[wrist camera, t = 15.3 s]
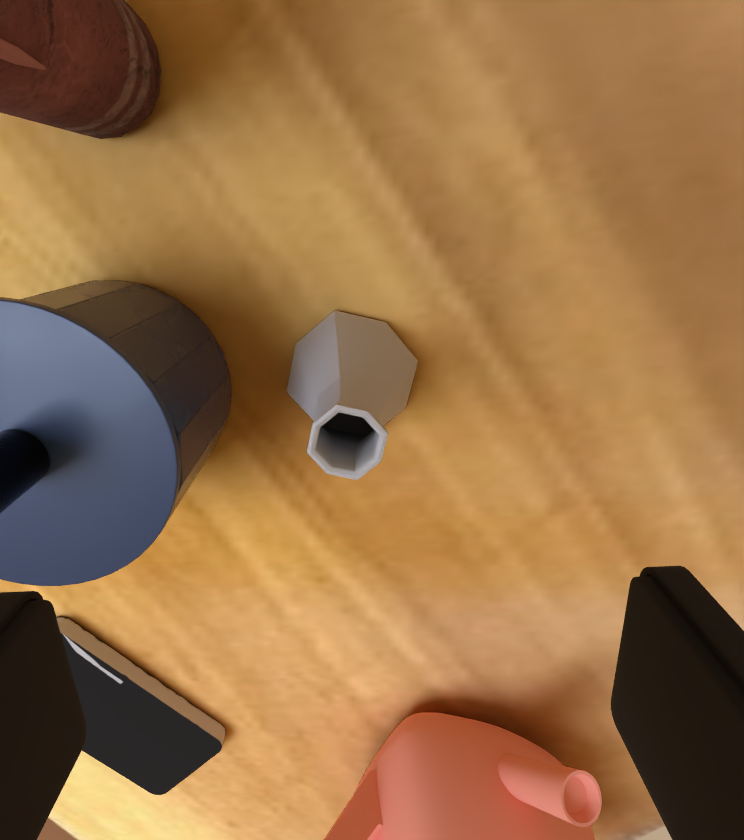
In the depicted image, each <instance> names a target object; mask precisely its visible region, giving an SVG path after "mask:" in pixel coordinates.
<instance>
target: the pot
mask: <svg viewBox="0 0 744 840" xmlns="http://www.w3.org/2000/svg"><path fill="white" fill-rule="evenodd" d="M20 300H25V301H29V302H33V303H37V304H41V305H45V306H48V307H51V308H53V309H56V310H59V311H61V312H64V313H66V314H69V315H71V316H73V317H75V318H77V319H79V320H81V321H83V322H84V323H86V324H88V325H90V326H92V327H93V328H95V329H96V330H98V331H99V332H101V333H102V334H104V335H105V336H107V337H108V338H110V339H111V340H112V341H113V342H114V343H116V344H117V345H118V346H119V347H120V348H121V349H123V350H124V351H125V352H126V353H127V354H128V355H129V356H130V357H131V358H132V359H133V360H134V361H135V362H136V363H137V364H138V365H139V366H140V368H141V369H142V370H143V371H144V372H145V374H146V375H147V376H148V378H149V379H150V380H151V382H152V383H153V384H154V386H155V387H156V389H157V391H158V392H159V394H160V396H161V398H162V399H163V401H164V403H165V405H166V407H167V409H168V412H169V414H170V416H171V419H172V421H173V424H174V427H175V431H176V435H177V438H178V442H179V449H180V457H181V480H180V485H179V491H178V496H177V499H176V502H175V505H174V508H173V511H172V513H173V512H174V510H175V509H176V507H177V506H178V504H179V502H180V501H181V499H182V498H183V496H184V494H185V493H186V491H187V490H188V488H189V487H190V485H191V483H192V482H193V480H194V479H195V477H196V476H197V474H198V472H199V471H200V469H201V468H202V466H203V464H204V463H205V461H206V460H207V458H208V457H209V455H210V453H211V452H212V450H213V449H214V447H215V445H216V443H217V441H218V439H219V436H220V434H221V432H222V430H223V428H224V426H225V424H226V421H227V418H228V416H229V412H230V404H231V381H230V375H229V371H228V366H227V363H226V360H225V358H224V355H223V352H222V350H221V348H220V346H219V345H218V343H217V341H216V339H215V338H214V336H213V335H212V333H211V332H210V330H209V329H208V328H207V326H206V325H205V324H204V323H203V322H202V321H201V320H200V318H199V317H198V316H196V315H195V314H194V313H193V312H192V311H191V310H190V309H189V308H188V307H186V306H185V305H183V304H182V303H181V302H179V301H178V300H176V299H175V298H173V297H171V296H169V295H167V294H166V293H164V292H162V291H159V290H157V289H154V288H152V287H149V286H146V285H142V284H138V283H134V282H127V281H97V280H95V281H89V282H85V283H81V284H78V285H74V286H70V287H66V288H62V289H58V290H55V291H51V292H47V293H43V294H39V295H35V296H31V297H28V298H24V299H20ZM172 513H171V515H172ZM171 515H170V517H171ZM170 517H169V518H170ZM168 520H169V519H168Z"/></svg>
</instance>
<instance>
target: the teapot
mask: <svg viewBox="0 0 744 840" xmlns="http://www.w3.org/2000/svg"><path fill="white" fill-rule="evenodd" d="M601 806H602V796H601V791H600V788H599V785H598V783H597V781H596V780H595V779H594V777H593V776H592V775H591V774H589V773H588V772H586V771H583V770H578V769H574V768H570V767H566V766H563V765H562V764H561V763H560V762H559V761H558V760H557V759H556V758H555V757H554V756H552V755H551V754H550V753H549V752H547V751H546V750H544V749H543V748H541V747H539V746H537V745H536V744H534V743H532V742H530V741H528V740H527V739H525V738H523V737H521V736H519V735H517V734H515V733H512V732H510V731H508V730H505V729H503V728H500V727H498V726H495V725H491V724H488V723H485V722H481V721H477V720H473V719H468V718H464V717H459V716H453V715H448V714H444V713H439V712H434V713H433V712H422V713H416V714H413V715H410V716H408V717H407V718H406V719H404V720H403V721H402V722H401V723H400V724H399V725H398V726H397V727H396V729H395V730H394V731H393V732H392V733H391V735H390V736H389V737H388V739H387V740H386V741H385V743H384V744H383V745H382V747H381V748H380V750H379V751H378V753H377V754H376V756H375V757H374V759H373V760H372V762H371V764H370V765H369V767H368V769H367V770H366V772H365V774H364V776H363V778H362V780H361V781H360V783H359V785H358V787H357V789H356V791H355V793H354V795H353V797H352V798H351V800H350V801H349V802H348V804H347V805H346V807H345V808H344V810H343V811H342V813H341V815H340V816H339V818H338V819H337V821H336V822H335V824H334V825H333V827H332V828H331V830H330V831H329V833H328V834H327V836H326V837H325V839H324V840H595V838H594V834H593V829H592V824H593V823H594V822H595V821H596V820H597V818H598V816H599V814H600V811H601Z"/></svg>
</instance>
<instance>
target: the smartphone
mask: <svg viewBox="0 0 744 840" xmlns="http://www.w3.org/2000/svg"><path fill="white" fill-rule="evenodd" d="M57 622H58V625H59V629H60V632H61V636H62V640H63V643H64V647H65V650H66V654H67V657H68V661H69V664H70V668H71V671H72V675H73V679H74V682H75V686H76V689H77V693H78V696H79V700H80V703H81V707H82V710H83V714H84V718H85V721H86V738H85V742H84V746H83V748H82V751H84V752H85V753H87V754H89V755H90V756H92V757H94V758H95V759H97V760H98V761H100V762H102V763H103V764H105V765H106V766H108V767H110V768H111V769H113V770H114V771H116V772H118V773H119V774H121V775H122V776H124V777H126V778H127V779H129V780H130V781H132V782H134V783H135V784H137V785H138V786H140V787H142V788H143V789H145V790H146V791H148V792H150V793H152V794H155V795H162V794H165V793H167V792H168V791H169V790H171V789H172V788H173V787H175V786H176V785H177V784H178V783H180V782H181V781H182V780H184V779H185V778H186V777H187V776H189V775H190V774H191V773H193V772H194V771H195V770H197V769H198V768H199V767H200V766H202V765H203V764H204V763H206V762H207V761H208V760H209V759H211V758H212V757H213V756H215V755H216V754H217V753H218V752H220V750H221V749H222V745H223V741H224V737H225V733H226V730H225V728H224V726H223V725H221V724H220V723H218V722H217V721H216V720H214V719H213V718H211V717H210V716H208V715H207V714H206V713H204V712H203V711H201V710H200V709H198V708H197V707H195V706H194V705H193V704H191V703H190V702H188V701H187V700H185V699H184V698H182V697H181V696H180V695H178V694H177V693H175V692H174V691H172V690H171V689H169V688H168V687H167V686H165V685H164V684H162V683H161V682H159V681H158V680H156V679H155V678H154V677H152V676H151V675H149V674H148V673H146V672H145V671H144V670H142V669H141V668H139V667H138V666H136V665H135V664H133V663H132V662H131V661H129V660H128V659H126V658H125V657H123V656H122V655H120V654H119V653H118V652H116V651H115V650H113V649H112V648H110V647H109V646H107V645H106V644H105V643H103V642H102V641H100V640H99V639H97V638H96V637H95V636H93V635H92V634H90V633H89V632H87V631H86V630H84V629H83V628H82V627H80V626H79V625H77V624H76V623H74V622H73V621H71V620H70V619H68V618H64V617H57Z"/></svg>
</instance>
